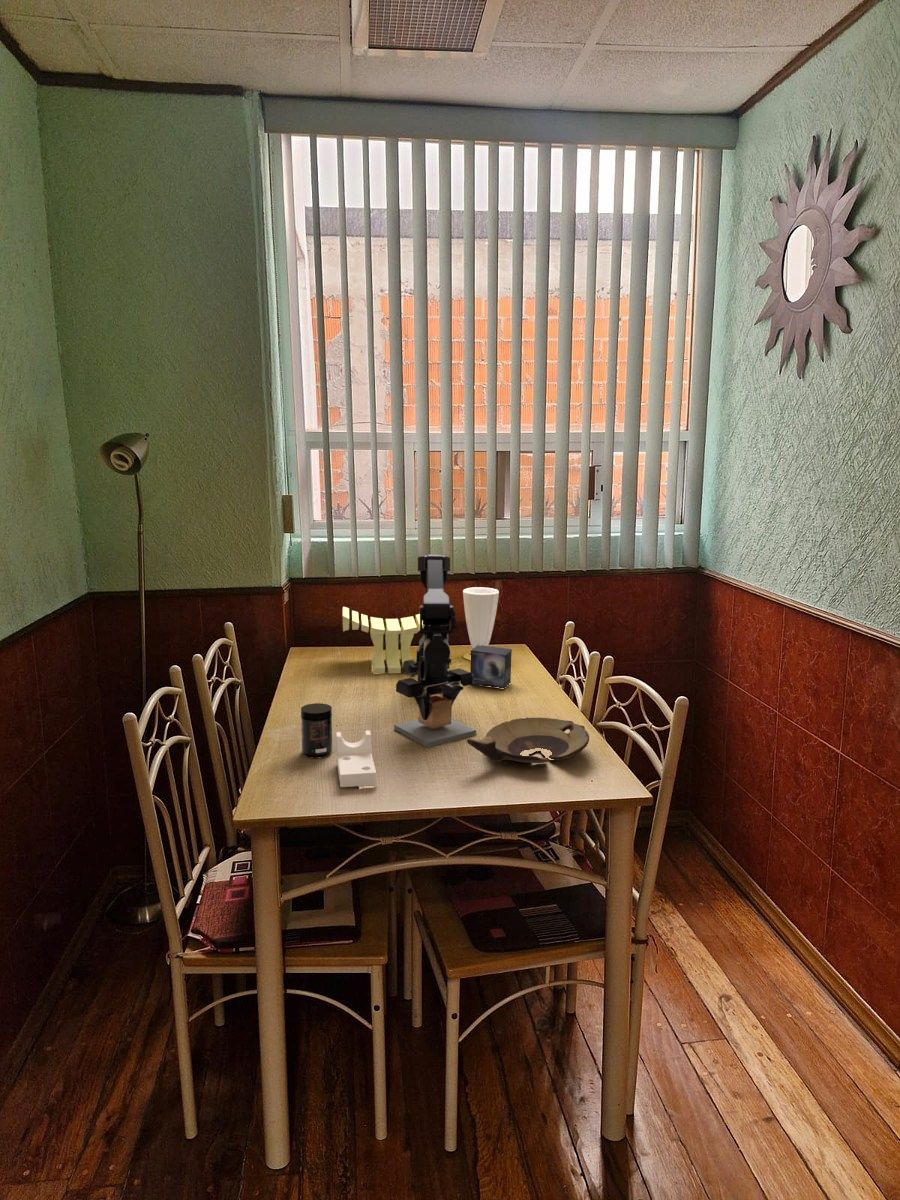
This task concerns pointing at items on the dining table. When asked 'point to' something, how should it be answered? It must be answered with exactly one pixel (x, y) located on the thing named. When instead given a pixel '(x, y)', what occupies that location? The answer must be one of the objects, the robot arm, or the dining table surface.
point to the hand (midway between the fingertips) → (434, 717)
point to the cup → (480, 613)
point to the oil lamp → (532, 739)
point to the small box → (491, 666)
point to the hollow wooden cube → (437, 712)
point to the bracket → (355, 762)
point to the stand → (434, 732)
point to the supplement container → (316, 730)
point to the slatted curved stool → (386, 638)
